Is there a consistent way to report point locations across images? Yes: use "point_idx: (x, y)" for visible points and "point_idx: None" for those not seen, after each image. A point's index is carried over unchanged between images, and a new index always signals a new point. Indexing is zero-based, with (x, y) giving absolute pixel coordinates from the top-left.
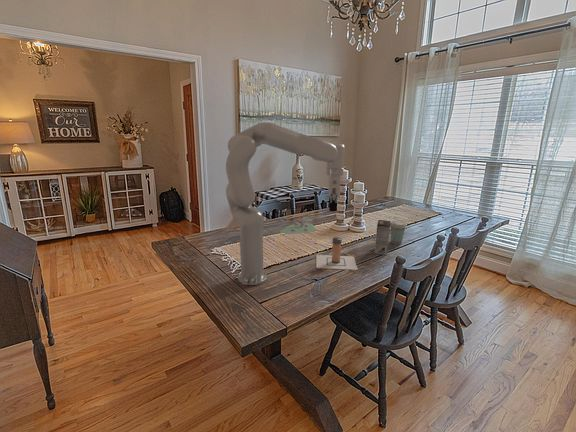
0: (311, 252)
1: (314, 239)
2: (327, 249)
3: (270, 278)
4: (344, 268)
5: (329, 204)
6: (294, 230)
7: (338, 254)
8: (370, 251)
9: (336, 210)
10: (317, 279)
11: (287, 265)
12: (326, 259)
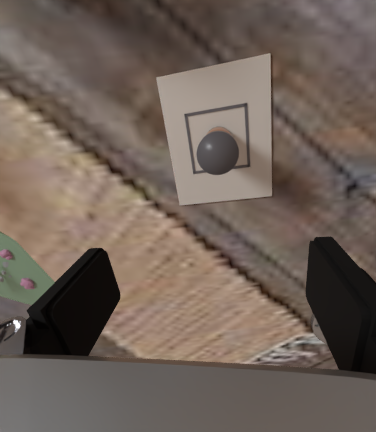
0: (162, 220)
1: (62, 223)
2: (123, 177)
3: None
4: (267, 105)
5: (114, 306)
6: (31, 280)
7: (231, 135)
8: (77, 5)
9: (333, 239)
10: (349, 183)
11: (264, 266)
12: (206, 173)
